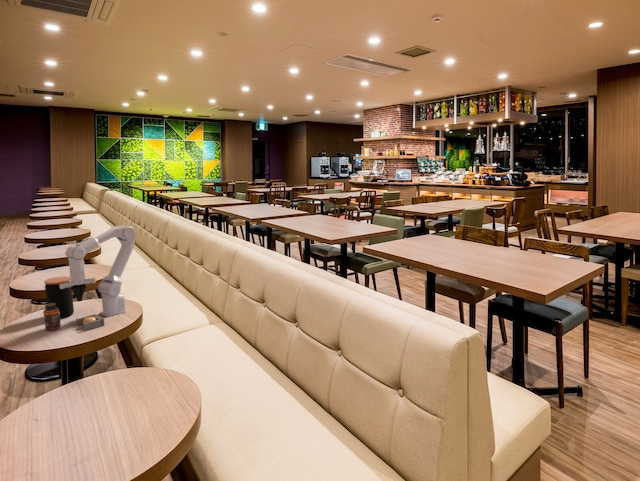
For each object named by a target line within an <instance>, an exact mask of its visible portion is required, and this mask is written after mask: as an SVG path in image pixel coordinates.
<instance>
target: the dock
mask: <svg viewBox="0 0 640 481" xmlns="http://www.w3.org/2000/svg"><path fill="white" fill-rule="evenodd" d="M87 317H95V318H96V320H95V321H92V322H88V323H84V325H83V319H84V318H87ZM76 326H77V327H79V326H83V328H84V331H89V330H94V329H98V328H100V327H103V326H105V319H104V318H103V317H101V316H98V315H97V314H91V315H87V316H84V317H83V316H82V317H80V318H76Z"/></svg>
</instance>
